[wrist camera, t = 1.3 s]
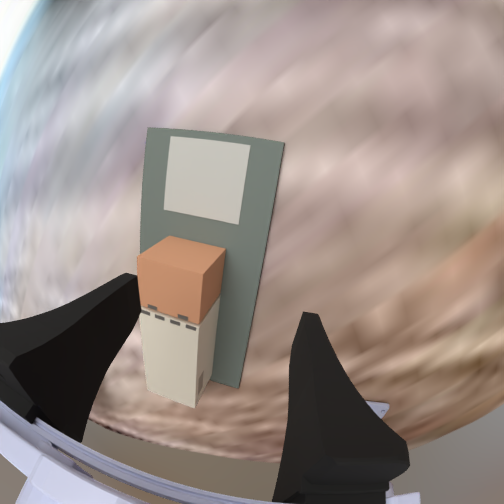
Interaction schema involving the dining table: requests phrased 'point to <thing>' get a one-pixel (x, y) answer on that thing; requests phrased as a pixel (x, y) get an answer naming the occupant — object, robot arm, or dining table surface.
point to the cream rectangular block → (178, 354)
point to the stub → (180, 277)
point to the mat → (215, 218)
